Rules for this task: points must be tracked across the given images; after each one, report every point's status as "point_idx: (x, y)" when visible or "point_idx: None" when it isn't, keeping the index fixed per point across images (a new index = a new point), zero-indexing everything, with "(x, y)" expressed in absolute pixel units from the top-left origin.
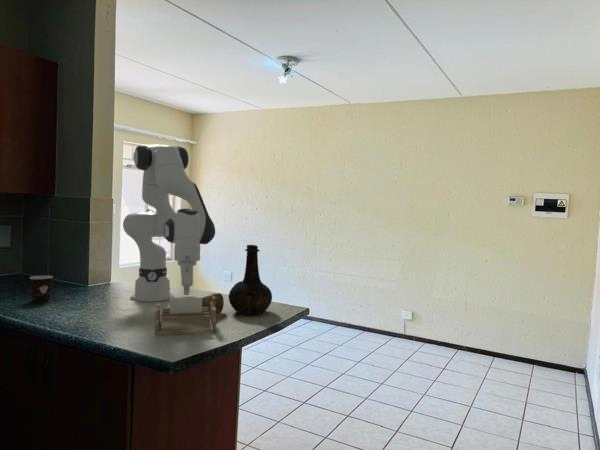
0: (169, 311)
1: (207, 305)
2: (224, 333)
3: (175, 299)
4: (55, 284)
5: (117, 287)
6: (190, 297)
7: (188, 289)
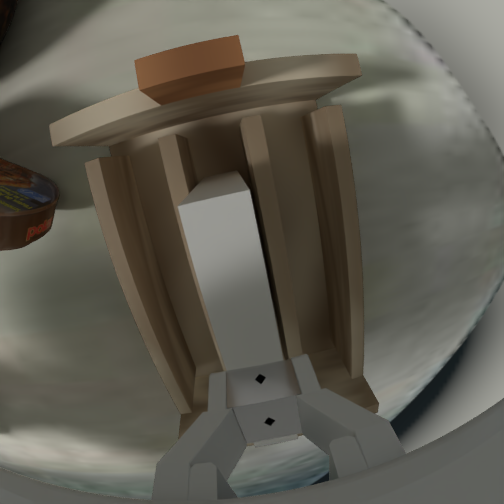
0: None
1: (2, 197)
2: (311, 48)
3: None
4: None
5: None
6: (256, 322)
7: (332, 398)
